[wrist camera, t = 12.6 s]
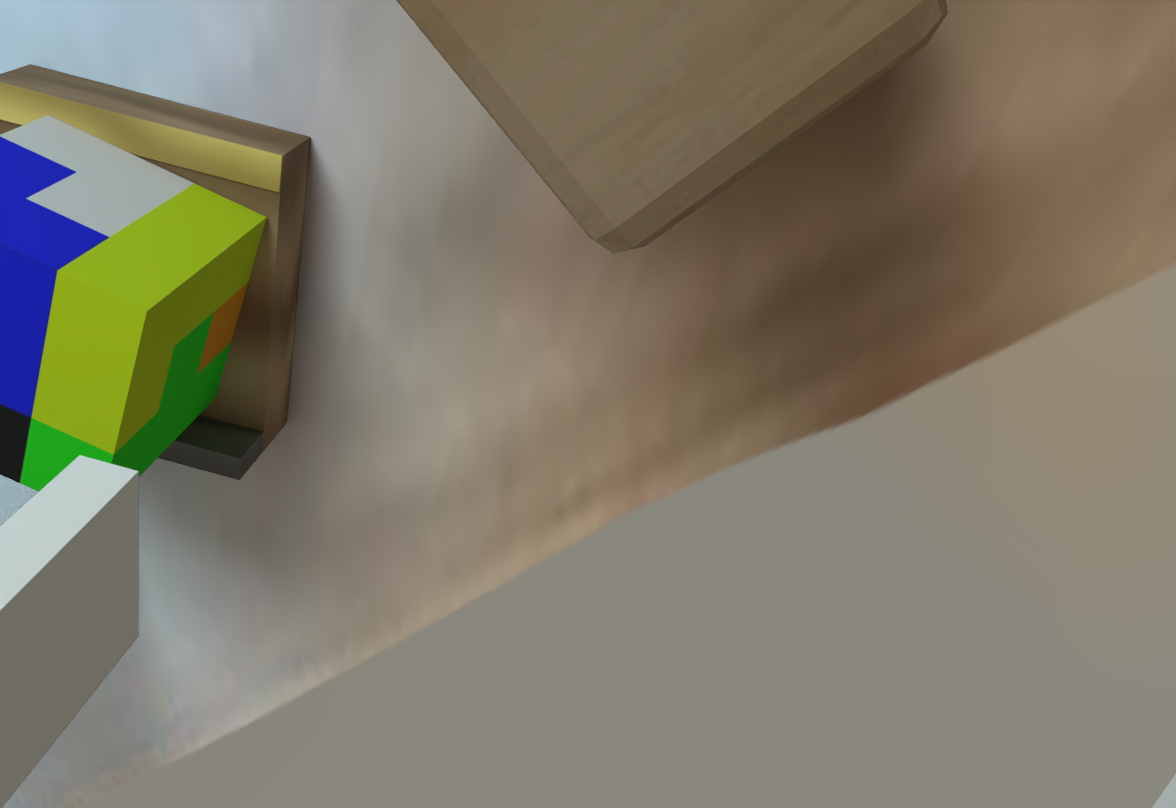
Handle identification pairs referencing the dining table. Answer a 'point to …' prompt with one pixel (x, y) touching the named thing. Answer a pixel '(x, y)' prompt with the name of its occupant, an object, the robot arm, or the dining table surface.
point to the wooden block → (663, 89)
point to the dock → (237, 172)
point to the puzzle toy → (109, 300)
